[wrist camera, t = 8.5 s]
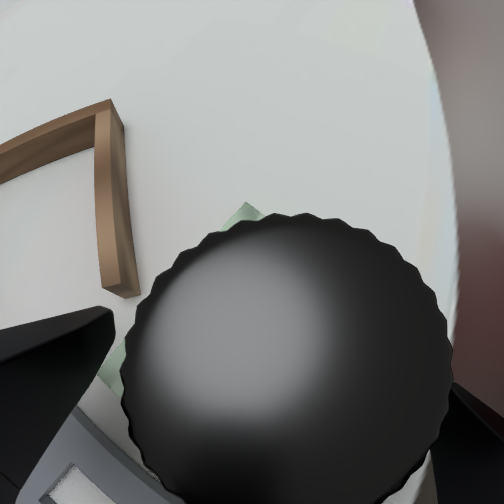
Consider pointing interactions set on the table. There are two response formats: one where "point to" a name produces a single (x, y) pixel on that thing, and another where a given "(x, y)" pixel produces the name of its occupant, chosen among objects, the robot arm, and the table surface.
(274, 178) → the table surface
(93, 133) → the u-shaped bracket
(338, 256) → the supplement bottle
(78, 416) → the hole plate
